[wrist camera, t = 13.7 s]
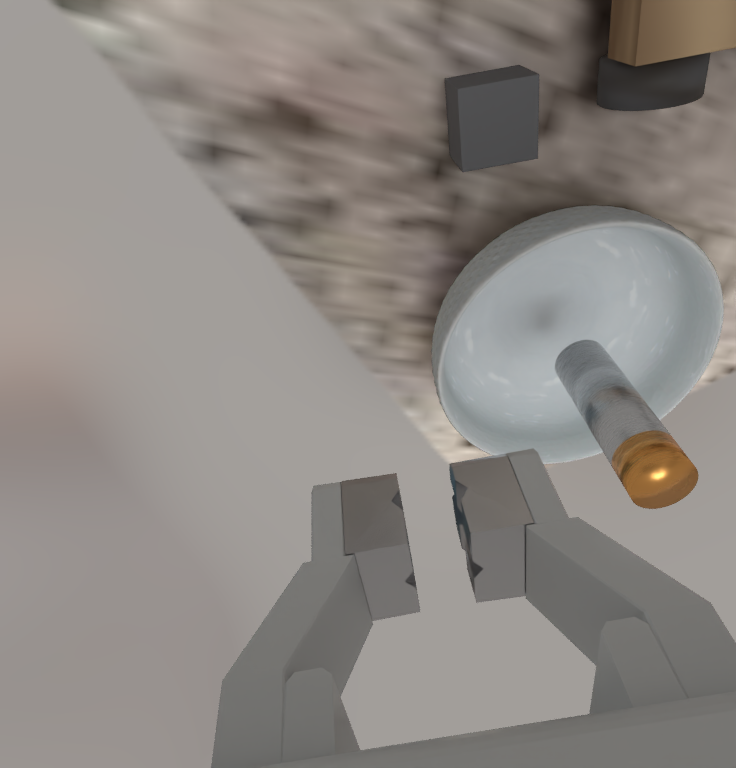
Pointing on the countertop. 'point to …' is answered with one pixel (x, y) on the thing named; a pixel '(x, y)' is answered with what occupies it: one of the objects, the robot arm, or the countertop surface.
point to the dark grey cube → (493, 117)
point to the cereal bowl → (571, 325)
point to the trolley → (662, 51)
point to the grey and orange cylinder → (625, 427)
